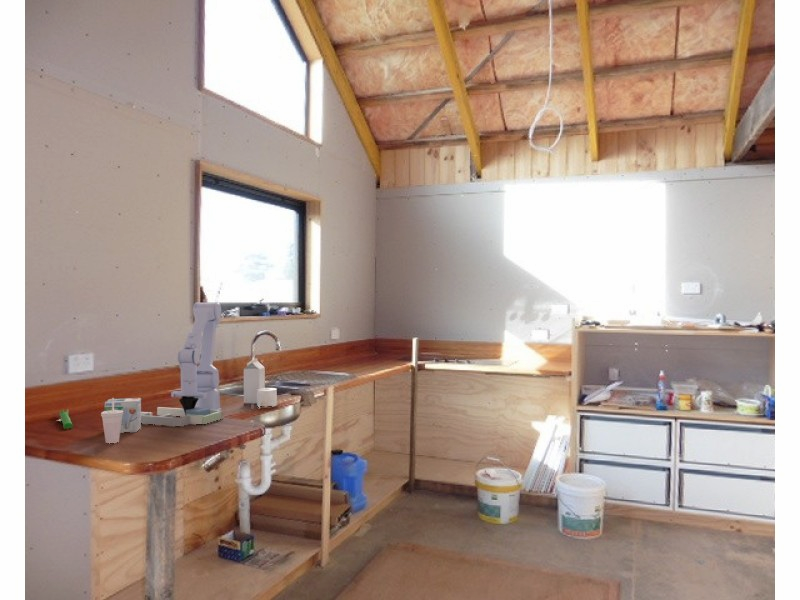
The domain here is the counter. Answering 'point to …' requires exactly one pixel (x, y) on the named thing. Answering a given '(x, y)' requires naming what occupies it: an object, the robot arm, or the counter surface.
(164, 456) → the counter surface
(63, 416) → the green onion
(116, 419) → the smoothie
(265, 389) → the toilet paper
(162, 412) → the trap box
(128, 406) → the light bulb box
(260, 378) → the milk carton
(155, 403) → the counter surface
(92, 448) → the counter surface
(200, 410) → the block
